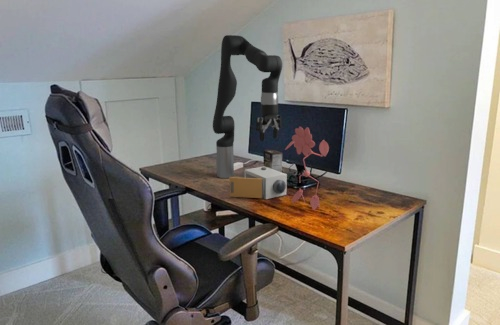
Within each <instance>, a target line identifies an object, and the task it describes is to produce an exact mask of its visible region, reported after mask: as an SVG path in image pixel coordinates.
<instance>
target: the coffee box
mask: <svg viewBox="0 0 500 325" xmlns="http://www.w3.org/2000/svg"><path fill="white" fill-rule="evenodd" d="M263 166H265V167H268V168H271V169H274V170H276V171H279V172H282V173H283V171H282V170H283V169H282V168H283V152H281V151H278V150H275V149H264V150H263Z"/></svg>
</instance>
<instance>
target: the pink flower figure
mask: <svg viewBox="0 0 500 325" xmlns="http://www.w3.org/2000/svg"><path fill="white" fill-rule="evenodd" d="M294 133H295V134H293V135H292V136H291V140H292V141H290V143H288V145H287V146H286V147H285V149H284V150H285V151H286V150H288V149H289V148H290V147H291V146H292V145H293V147H294V148H296V154H297V155H301V154H303V155H304V157H303V159H302V162H303V166H304V170H305V171H303V173H302V174H301V175H299V176H298V177H299V182H301V177H302V176H304V177H305V178H307V177H308V178H311V179H313V180H314V181H316V182H317V185H316V191H315V194H314V195H312V196H311V198H310V202H309V204H310V207H311V209H312V211H316V210H317V208H321V207H320V198H319V196H318V195H317V193H318V192H317V191H318V188H319V184H320V182H319V180H318V179H315V178H314V177H312V176H311V172H310V170H307V168H306V162H305V159H306V158H308V157H309V156H310V155H312V154H313V155H315V156H319V157H321V158H322V157H327V155H328V153H329V149H330V146H329V143H328V142H327V141H325V139H323V140H322V141H321V142H320V143H319V146H318V150H319V153H320V154H319V153H316V152H314V151H313V150H312V149H313V148H314V147H315V146H316V142H315V141H314V140H313V134H312V133H311V131H310V128H309V127H308V126H307V127H306V128H305V129H304V128H303V127H302V126H298V128H297V127H296V128H295V129H294ZM300 198H302V200H303V202H304V203H305V202H306V200H305V198H304V195H303V189H298V190H297V191H296V192H295V193H294V195H293V197H292V200H291V203H295V202H297V201H298V200H299V199H300ZM285 211H287V213H290V214H291V213H292V214H294V215H296V213H295V212H292V211H290V210H289V211H288V210H287V209H285ZM298 216H302V214H300V213H298ZM307 216H311V217H312V216H313V214H311V215H310V214H309V215H308V214H307Z"/></svg>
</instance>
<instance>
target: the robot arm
mask: <svg viewBox="0 0 500 325" xmlns="http://www.w3.org/2000/svg"><path fill="white" fill-rule="evenodd" d="M220 53H221V54H220V70H219V78H218V83H217V86H218V87H217V96H216V105H215V109H214V114H213V119H212V130H213V132H214V133H215V134H218V135H219V134H221V135H222V134H223V136H222V137H221V138H219V139H217V140H216V147H215V148H216V176H217V178H220V179H229V178H230V177H235V176H234V175H235V174H234V173H235V170H234V169H235V166H234V165H235V164H234V163H235V162H234V161H235V160H234V157H235V156H234V142H235V120H234V117H233V116H231V115H225V111H226V110H227V107H228V106H229V105H230V104H231V102H232V101H233V99H234V98H235V96H236V93H237V92H236V91H237V86H238V81H237V77H236V75H235V74H234V71H233V69H232V65H231V57H232V56H245V59H246V60H247V61H248V62H249V63H251V64H252V65H254V66H255V67H256V69H257V70H258V71H259V72H262V73H270V74H269V76H268V77H265V78H263V79H262V80H261V95H260V114H261V117H256V121H255V122H256V124H255V131H256V132H259V140H260V142H265V140H266V139H265V137H266V134H265V133H266V130H267V129H268V127H271V128H272V129H273V130H272V133H273V134H272V139H278V137H279V130H280V129H282V127H283V124H282V123H283V120H282V115H281V114H279V94H278V93H279V81H280V77H281V73H282V70H283V60H282V58H281V57H280V56H279V55H274V54H273V55H269V54H267V53H266V52H265V51H264V50H262V49H260V48H257V47H256V46H255V45H253V44H252V43H250V42H249V41H248V40H247V39H246V38H245V37H243V36H241V35H231V34H229V35H228V34H227V35H224V37H223V38H222V41H221V51H220Z"/></svg>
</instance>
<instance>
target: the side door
mask: <svg viewBox="0 0 500 325" xmlns="http://www.w3.org/2000/svg"><path fill="white" fill-rule="evenodd" d="M228 179H229V197H232V198H233V197H234V198H235V197H236V198H252V199H253V198H255V199H264V179H258V178H245V177H240V176H239V177H238V176H237V177H236V176H233V177H230V178H228Z"/></svg>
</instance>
